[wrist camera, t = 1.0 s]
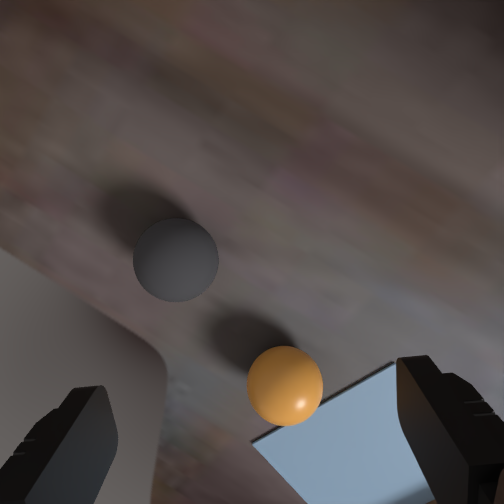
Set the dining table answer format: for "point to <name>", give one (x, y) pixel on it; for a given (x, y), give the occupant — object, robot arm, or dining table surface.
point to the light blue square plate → (350, 449)
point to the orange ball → (284, 385)
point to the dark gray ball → (175, 260)
